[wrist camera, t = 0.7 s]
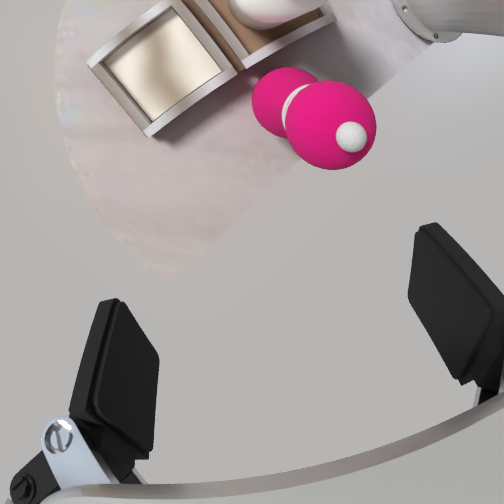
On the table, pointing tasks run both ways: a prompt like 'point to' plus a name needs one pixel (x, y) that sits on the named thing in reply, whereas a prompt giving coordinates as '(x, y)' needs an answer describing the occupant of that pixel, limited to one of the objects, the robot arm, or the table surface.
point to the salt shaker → (269, 11)
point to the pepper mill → (315, 117)
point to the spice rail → (186, 56)
